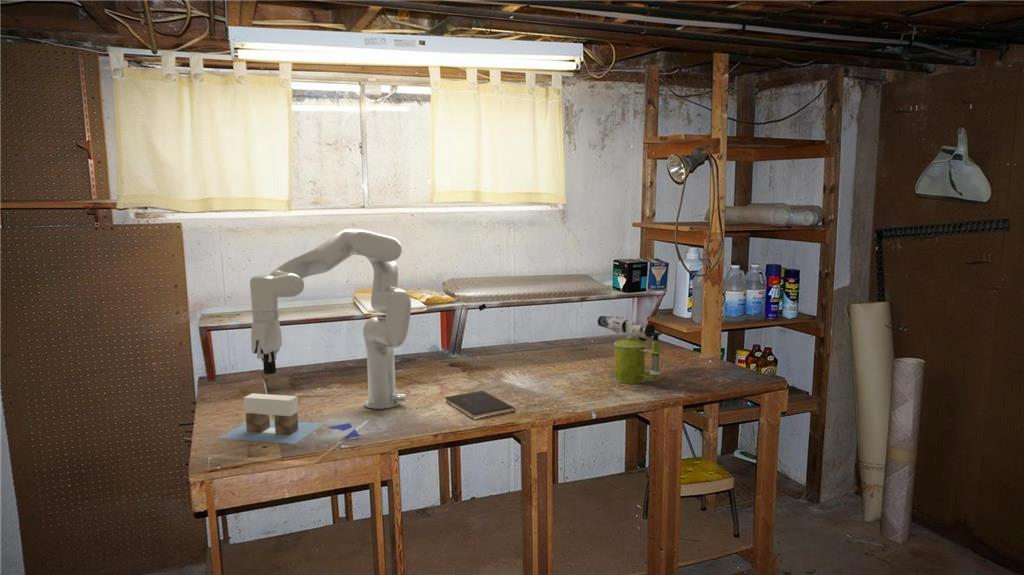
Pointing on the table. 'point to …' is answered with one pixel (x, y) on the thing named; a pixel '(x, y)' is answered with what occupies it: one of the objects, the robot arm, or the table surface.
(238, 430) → the board
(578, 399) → the table surface
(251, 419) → the post
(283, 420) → the post
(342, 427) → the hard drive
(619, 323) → the blowtorch
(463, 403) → the hardcover book
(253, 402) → the beam
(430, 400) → the table surface
